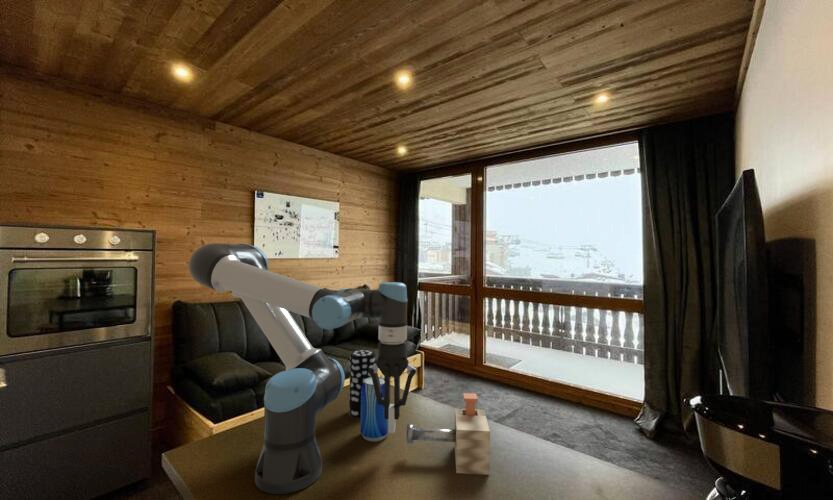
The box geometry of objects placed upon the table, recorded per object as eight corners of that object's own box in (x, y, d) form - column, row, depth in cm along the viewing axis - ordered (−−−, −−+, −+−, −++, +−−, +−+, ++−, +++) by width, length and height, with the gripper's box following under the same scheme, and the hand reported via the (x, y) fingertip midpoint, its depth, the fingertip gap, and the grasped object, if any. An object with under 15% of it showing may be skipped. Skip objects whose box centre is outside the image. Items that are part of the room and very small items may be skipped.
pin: (406, 446, 92) (406, 428, 92) (408, 437, 96) (408, 420, 96) (467, 450, 91) (467, 431, 91) (466, 440, 95) (466, 423, 95)
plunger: (463, 427, 95) (463, 398, 95) (462, 421, 99) (463, 393, 99) (477, 428, 95) (477, 398, 95) (475, 422, 98) (476, 393, 99)
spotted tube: (347, 409, 122) (348, 350, 122) (371, 406, 124) (372, 348, 125) (350, 420, 114) (351, 357, 114) (376, 417, 116) (377, 355, 117)
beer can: (384, 444, 100) (385, 386, 100) (356, 441, 101) (356, 384, 102) (392, 430, 108) (393, 376, 108) (366, 427, 110) (366, 374, 110)
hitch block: (456, 473, 87) (456, 429, 87) (454, 446, 99) (454, 408, 99) (489, 474, 87) (489, 431, 87) (483, 448, 99) (484, 409, 99)
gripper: (365, 344, 91) (364, 437, 91) (416, 345, 90) (415, 439, 90) (371, 337, 99) (370, 423, 99) (418, 338, 98) (417, 425, 98)
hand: (391, 430), depth 94 cm, fingers closed
